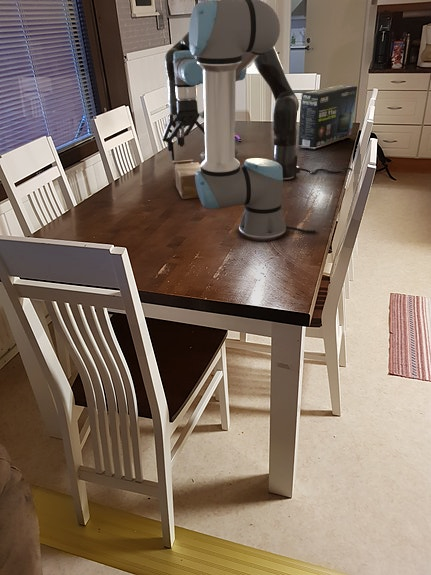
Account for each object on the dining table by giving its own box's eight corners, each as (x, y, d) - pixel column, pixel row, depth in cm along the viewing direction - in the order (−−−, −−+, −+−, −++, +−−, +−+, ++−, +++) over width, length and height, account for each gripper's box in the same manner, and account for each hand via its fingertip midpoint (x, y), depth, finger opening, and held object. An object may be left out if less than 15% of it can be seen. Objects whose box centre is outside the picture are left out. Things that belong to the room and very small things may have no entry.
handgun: (221, 135, 268) (221, 132, 267) (234, 134, 269) (234, 130, 268) (228, 143, 251) (228, 140, 250) (242, 142, 252) (242, 138, 251)
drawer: (172, 174, 203) (171, 158, 200) (191, 172, 205) (190, 156, 201) (179, 189, 186) (178, 171, 183) (200, 186, 188) (200, 169, 184)
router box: (314, 151, 231) (318, 94, 217) (296, 148, 237) (299, 92, 224) (352, 138, 251) (358, 85, 238) (335, 135, 258) (340, 83, 245)
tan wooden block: (176, 186, 192) (174, 164, 188) (199, 183, 194) (198, 162, 190) (182, 199, 179) (180, 176, 174) (207, 196, 181) (206, 173, 176)
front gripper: (218, 94, 170) (219, 152, 181) (151, 99, 166) (157, 158, 177) (222, 97, 164) (224, 157, 175) (153, 103, 160) (159, 163, 171)
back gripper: (192, 100, 191) (194, 142, 200) (160, 102, 189) (164, 145, 198) (195, 103, 185) (197, 146, 194) (163, 105, 183) (166, 149, 192)
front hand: (190, 157), depth 176 cm, fingers open, 13 cm apart
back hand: (181, 146), depth 196 cm, fingers closed
